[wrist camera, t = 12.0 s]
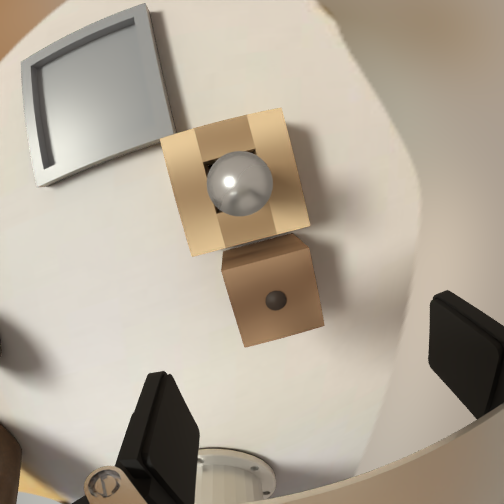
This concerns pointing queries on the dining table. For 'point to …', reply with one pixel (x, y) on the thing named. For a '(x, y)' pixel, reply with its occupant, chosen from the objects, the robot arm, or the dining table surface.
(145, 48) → the tray
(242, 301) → the walnut block
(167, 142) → the oak block
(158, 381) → the robot arm
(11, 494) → the plant pot
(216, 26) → the dining table surface
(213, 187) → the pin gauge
